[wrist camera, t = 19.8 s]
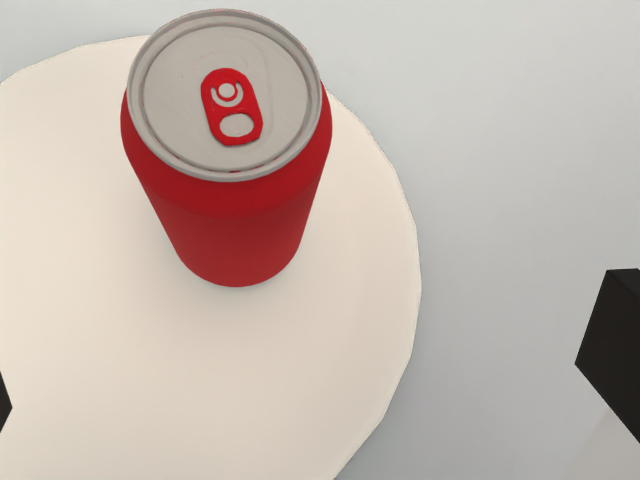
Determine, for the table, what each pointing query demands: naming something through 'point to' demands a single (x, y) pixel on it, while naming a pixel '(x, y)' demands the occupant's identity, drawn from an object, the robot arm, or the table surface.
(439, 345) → the table surface
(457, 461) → the table surface
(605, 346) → the robot arm
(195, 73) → the beverage can
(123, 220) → the plate
